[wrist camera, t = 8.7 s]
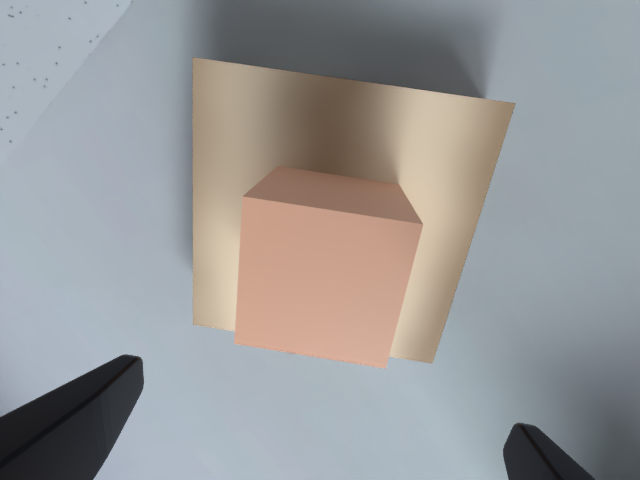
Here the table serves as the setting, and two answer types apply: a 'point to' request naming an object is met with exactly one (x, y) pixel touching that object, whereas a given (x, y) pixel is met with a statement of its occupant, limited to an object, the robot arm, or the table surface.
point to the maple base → (340, 173)
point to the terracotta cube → (324, 265)
